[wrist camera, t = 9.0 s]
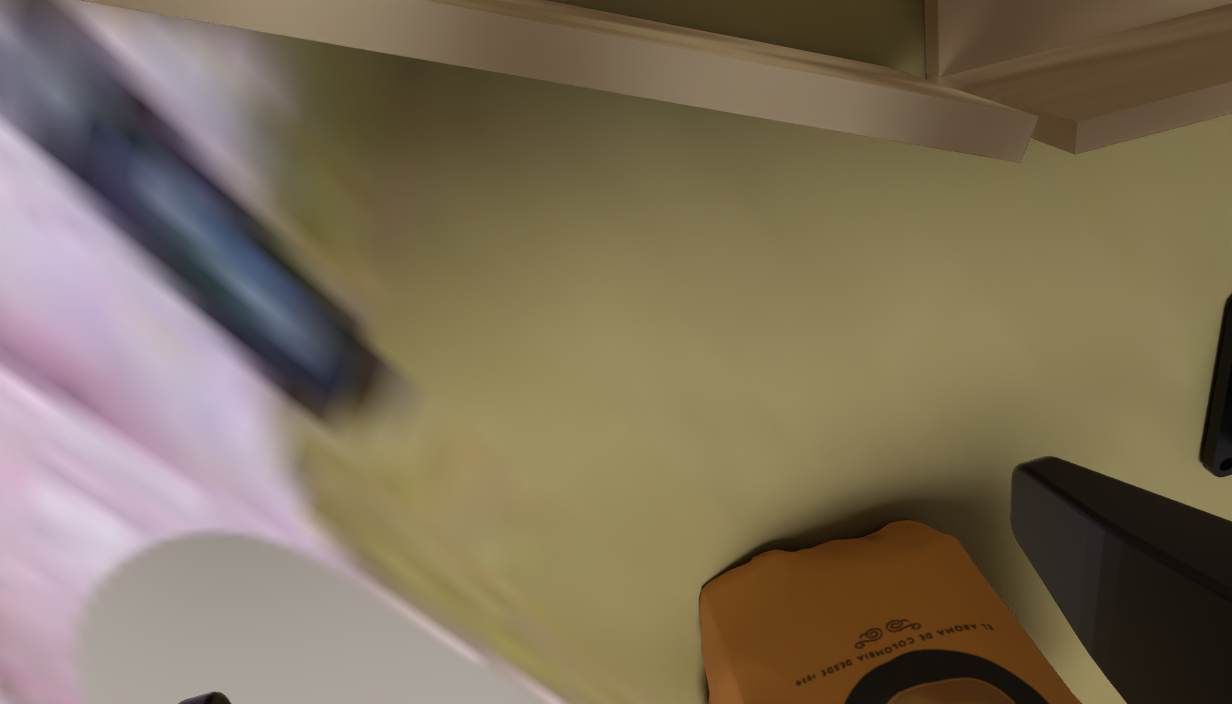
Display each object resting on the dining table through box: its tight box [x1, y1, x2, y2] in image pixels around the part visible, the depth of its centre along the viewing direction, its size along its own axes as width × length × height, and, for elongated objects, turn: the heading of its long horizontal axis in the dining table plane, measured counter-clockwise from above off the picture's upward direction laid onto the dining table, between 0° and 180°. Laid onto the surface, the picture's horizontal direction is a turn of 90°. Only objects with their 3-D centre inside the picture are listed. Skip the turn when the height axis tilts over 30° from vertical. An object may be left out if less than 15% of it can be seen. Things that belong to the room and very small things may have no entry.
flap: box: [80, 0, 1039, 163], centre depth 15 cm, size 17×1×6 cm, turn 79°
